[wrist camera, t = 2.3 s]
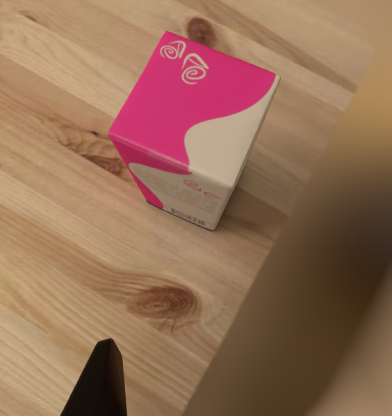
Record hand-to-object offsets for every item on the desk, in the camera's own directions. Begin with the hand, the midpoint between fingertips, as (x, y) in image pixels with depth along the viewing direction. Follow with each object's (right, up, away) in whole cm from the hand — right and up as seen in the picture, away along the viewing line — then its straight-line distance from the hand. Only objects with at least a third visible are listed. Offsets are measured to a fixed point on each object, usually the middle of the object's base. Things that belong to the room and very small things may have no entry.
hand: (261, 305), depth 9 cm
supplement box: (-2, +5, +15) cm, 16 cm away
